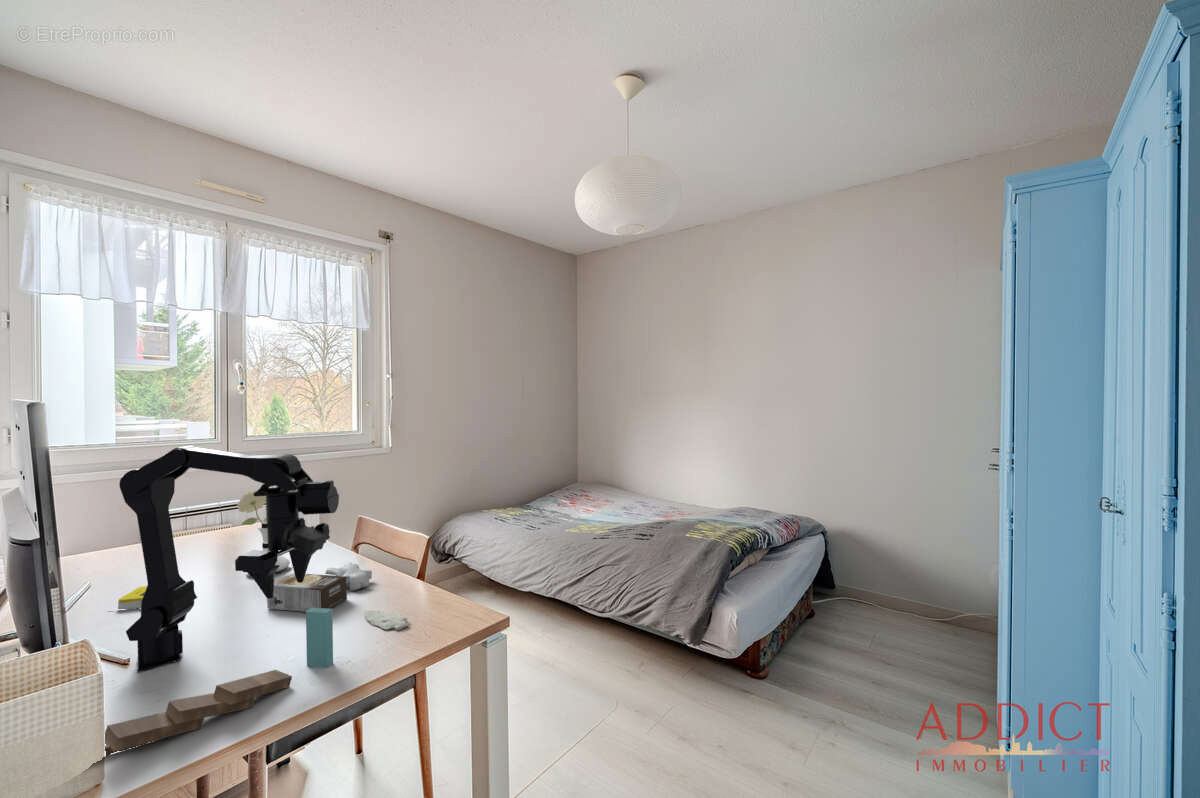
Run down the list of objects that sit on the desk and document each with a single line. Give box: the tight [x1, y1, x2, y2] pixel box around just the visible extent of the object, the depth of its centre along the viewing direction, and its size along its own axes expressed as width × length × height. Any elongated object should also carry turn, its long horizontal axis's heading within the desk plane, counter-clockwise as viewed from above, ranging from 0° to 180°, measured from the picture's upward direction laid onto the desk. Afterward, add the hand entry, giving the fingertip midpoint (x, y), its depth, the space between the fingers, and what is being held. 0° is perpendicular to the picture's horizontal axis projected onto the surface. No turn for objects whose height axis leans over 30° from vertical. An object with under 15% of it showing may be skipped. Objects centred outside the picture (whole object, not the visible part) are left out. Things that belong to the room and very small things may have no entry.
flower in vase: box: [236, 490, 291, 574], centre depth 153 cm, size 13×11×25 cm
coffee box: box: [266, 572, 348, 613], centre depth 130 cm, size 9×6×16 cm
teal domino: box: [305, 608, 334, 669], centre depth 102 cm, size 2×4×11 cm, turn 83°
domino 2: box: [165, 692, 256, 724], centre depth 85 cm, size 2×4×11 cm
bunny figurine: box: [324, 562, 373, 592], centre depth 144 cm, size 10×5×15 cm
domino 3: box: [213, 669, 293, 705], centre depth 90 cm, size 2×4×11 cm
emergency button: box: [118, 585, 147, 610], centre depth 133 cm, size 9×4×15 cm
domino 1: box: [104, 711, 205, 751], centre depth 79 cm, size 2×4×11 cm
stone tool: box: [363, 609, 410, 631], centre depth 120 cm, size 6×2×15 cm
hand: (285, 589), depth 106 cm, fingers open, 8 cm apart
